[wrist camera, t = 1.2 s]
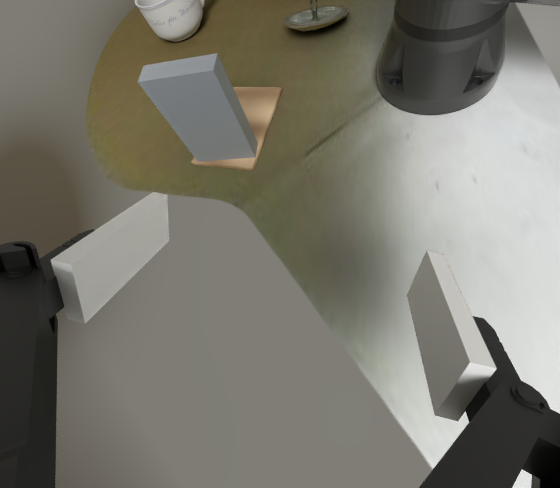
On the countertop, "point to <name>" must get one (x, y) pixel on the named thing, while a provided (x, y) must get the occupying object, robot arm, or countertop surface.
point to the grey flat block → (201, 107)
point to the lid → (315, 17)
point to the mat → (252, 122)
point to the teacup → (172, 17)
